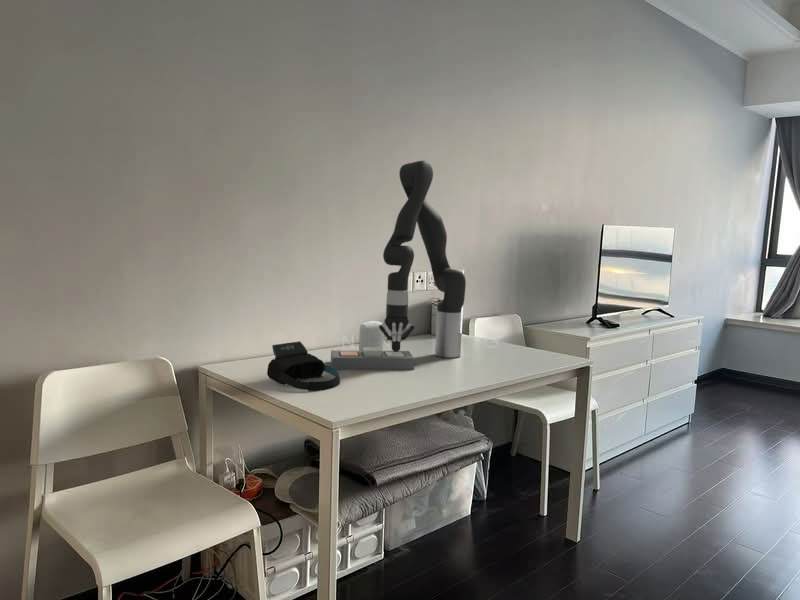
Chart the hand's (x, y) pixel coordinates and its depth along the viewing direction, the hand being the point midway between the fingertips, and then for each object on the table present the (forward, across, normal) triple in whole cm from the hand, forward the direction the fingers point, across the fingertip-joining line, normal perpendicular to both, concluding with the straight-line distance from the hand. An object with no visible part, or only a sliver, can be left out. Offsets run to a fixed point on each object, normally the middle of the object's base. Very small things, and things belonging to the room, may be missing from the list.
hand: (395, 351), depth 221 cm
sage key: (+2, +8, 0) cm, 9 cm away
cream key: (+4, 0, 0) cm, 4 cm away
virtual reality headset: (+5, +31, +22) cm, 39 cm away
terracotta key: (+3, +16, 0) cm, 17 cm away
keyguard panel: (+5, +8, 0) cm, 10 cm away
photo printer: (+5, +6, -21) cm, 23 cm away
